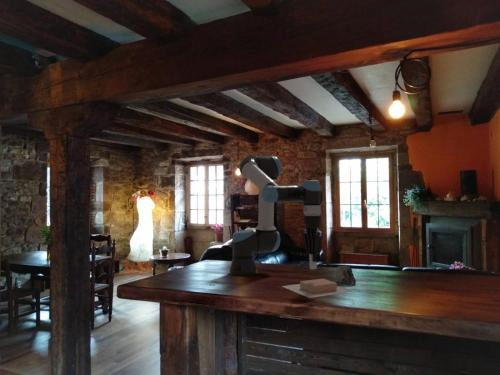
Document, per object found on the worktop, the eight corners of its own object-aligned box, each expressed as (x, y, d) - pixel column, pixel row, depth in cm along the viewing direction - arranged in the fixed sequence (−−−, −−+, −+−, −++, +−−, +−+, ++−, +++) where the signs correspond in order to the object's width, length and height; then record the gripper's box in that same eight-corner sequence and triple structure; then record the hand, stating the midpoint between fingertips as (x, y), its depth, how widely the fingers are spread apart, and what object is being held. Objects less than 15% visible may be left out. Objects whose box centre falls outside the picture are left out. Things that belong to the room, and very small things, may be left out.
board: (281, 288, 164) (281, 286, 164) (322, 283, 173) (321, 281, 173) (309, 300, 144) (309, 297, 144) (353, 294, 153) (353, 291, 153)
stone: (356, 263, 170) (334, 261, 173) (355, 280, 162) (332, 278, 166) (356, 276, 176) (335, 274, 179) (356, 293, 168) (333, 291, 171)
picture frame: (300, 281, 159) (313, 286, 150) (322, 278, 165) (336, 283, 155) (300, 288, 159) (313, 293, 150) (322, 285, 164) (337, 290, 155)
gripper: (296, 214, 166) (297, 267, 165) (313, 215, 154) (314, 272, 153) (310, 214, 169) (311, 265, 168) (328, 215, 157) (329, 270, 157)
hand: (313, 268), depth 161 cm, fingers closed
